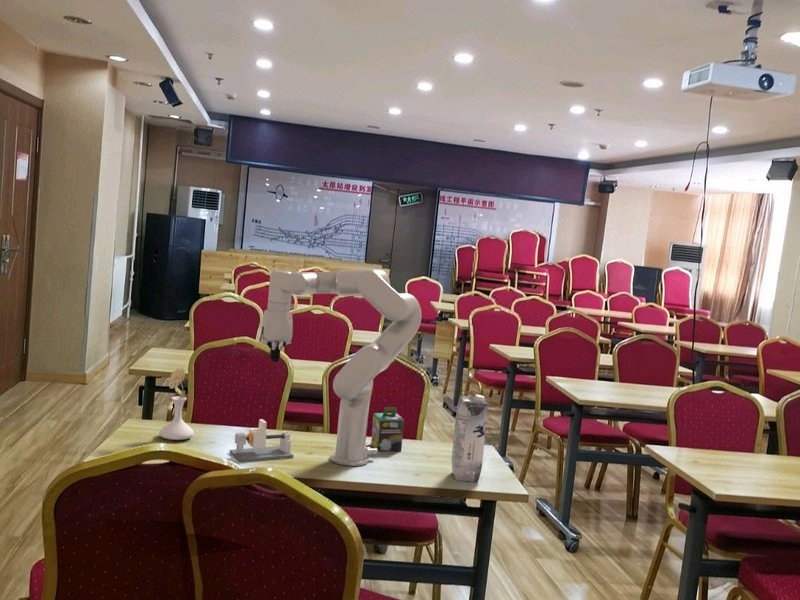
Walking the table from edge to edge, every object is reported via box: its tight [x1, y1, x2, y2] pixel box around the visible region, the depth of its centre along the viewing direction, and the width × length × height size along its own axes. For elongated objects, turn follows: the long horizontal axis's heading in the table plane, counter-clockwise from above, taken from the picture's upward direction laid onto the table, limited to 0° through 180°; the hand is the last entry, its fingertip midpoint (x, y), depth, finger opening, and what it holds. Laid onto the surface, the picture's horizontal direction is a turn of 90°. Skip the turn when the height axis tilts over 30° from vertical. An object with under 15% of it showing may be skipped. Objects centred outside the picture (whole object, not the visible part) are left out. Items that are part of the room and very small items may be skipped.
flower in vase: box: [158, 366, 195, 441], centre depth 246 cm, size 13×11×25 cm
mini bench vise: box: [229, 431, 294, 463], centre depth 238 cm, size 18×10×7 cm, turn 122°
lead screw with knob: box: [246, 433, 285, 444], centre depth 238 cm, size 16×3×3 cm, turn 122°
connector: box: [234, 432, 247, 455], centre depth 234 cm, size 3×3×6 cm
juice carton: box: [451, 394, 489, 483], centre depth 235 cm, size 9×10×27 cm
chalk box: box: [370, 407, 405, 452], centre depth 260 cm, size 9×9×15 cm
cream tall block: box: [247, 418, 268, 448], centre depth 237 cm, size 4×5×8 cm
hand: (274, 361), depth 247 cm, fingers closed
